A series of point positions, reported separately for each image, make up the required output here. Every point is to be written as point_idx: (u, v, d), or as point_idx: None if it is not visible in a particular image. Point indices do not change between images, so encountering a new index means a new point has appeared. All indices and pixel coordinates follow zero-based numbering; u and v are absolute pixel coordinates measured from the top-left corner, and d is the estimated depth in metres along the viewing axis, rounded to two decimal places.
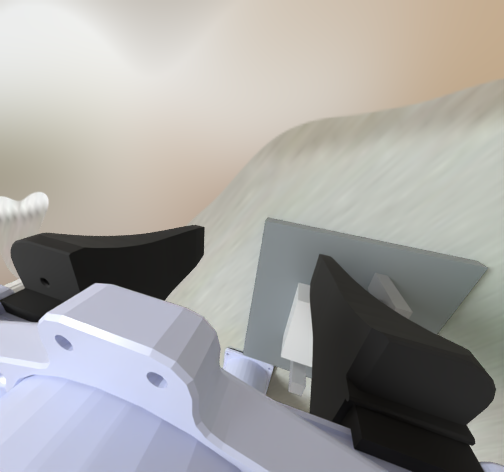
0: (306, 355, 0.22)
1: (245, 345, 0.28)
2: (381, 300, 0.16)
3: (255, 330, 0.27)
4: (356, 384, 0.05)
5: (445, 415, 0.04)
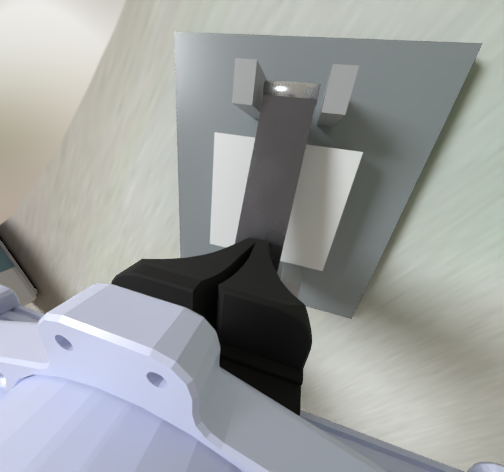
0: None
1: (181, 255, 0.23)
2: None
3: (189, 229, 0.21)
4: (218, 338, 0.05)
5: (281, 360, 0.05)
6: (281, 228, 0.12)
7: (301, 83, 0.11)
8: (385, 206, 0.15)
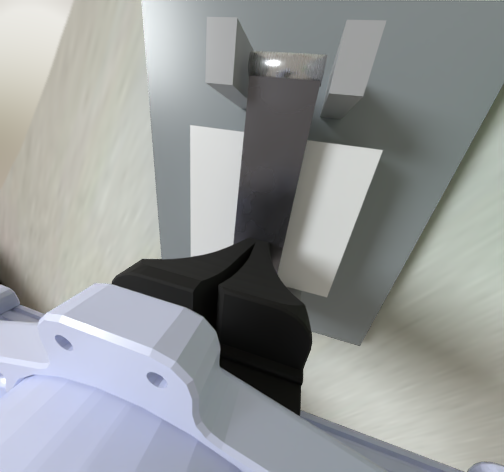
0: None
1: None
2: (325, 55, 0.08)
3: (171, 241, 0.18)
4: (218, 338, 0.05)
5: (282, 360, 0.05)
6: (278, 240, 0.11)
7: (300, 56, 0.08)
8: (405, 217, 0.13)
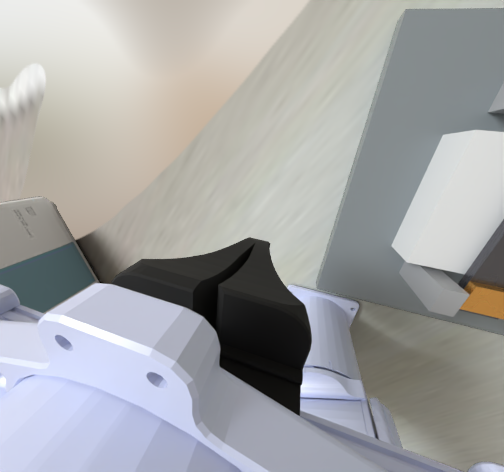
0: (459, 251, 0.14)
1: (323, 271, 0.20)
2: None
3: (345, 242, 0.18)
4: (218, 338, 0.05)
5: (281, 360, 0.05)
6: None
7: None
8: None
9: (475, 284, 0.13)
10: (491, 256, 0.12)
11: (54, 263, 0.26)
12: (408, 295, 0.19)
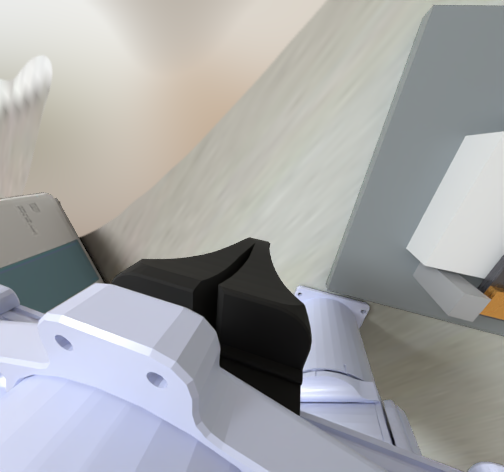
0: (480, 255, 0.13)
1: (335, 273, 0.20)
2: None
3: (358, 244, 0.18)
4: (218, 338, 0.05)
5: (281, 360, 0.05)
6: None
7: None
8: None
9: (496, 289, 0.13)
10: None
11: (58, 261, 0.26)
12: (421, 298, 0.19)
